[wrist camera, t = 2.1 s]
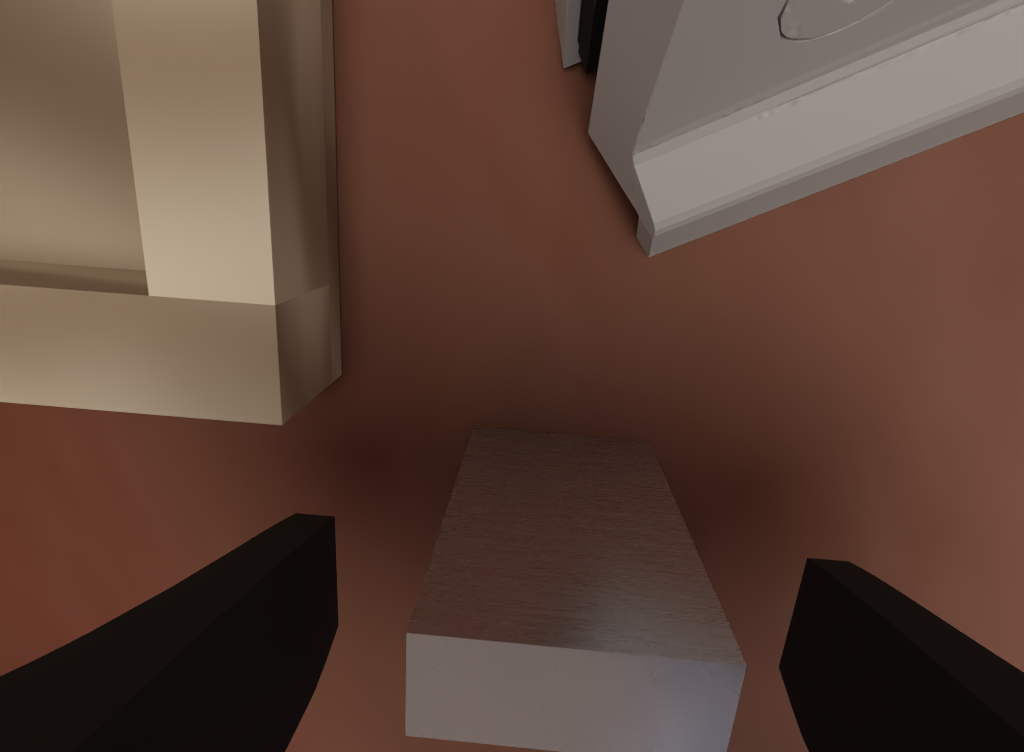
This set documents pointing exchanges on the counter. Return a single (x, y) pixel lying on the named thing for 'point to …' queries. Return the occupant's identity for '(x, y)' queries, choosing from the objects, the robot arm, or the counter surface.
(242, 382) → the well block
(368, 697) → the counter surface
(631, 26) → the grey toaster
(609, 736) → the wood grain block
